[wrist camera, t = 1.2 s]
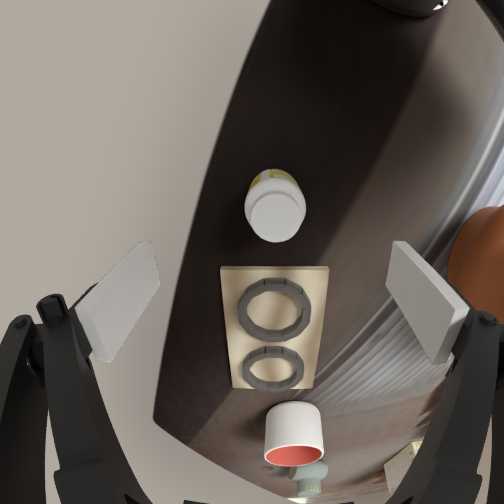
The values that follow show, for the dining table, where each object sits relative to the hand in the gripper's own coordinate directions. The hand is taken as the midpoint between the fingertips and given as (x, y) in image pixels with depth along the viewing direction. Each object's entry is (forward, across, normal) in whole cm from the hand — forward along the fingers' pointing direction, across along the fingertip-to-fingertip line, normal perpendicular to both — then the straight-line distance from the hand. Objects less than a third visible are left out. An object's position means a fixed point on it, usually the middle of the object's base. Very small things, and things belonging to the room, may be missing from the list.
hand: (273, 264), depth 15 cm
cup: (+18, +4, -40) cm, 44 cm away
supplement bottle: (+18, 0, 0) cm, 18 cm away
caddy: (+18, 0, -20) cm, 26 cm away
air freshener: (+18, +10, -67) cm, 70 cm away
